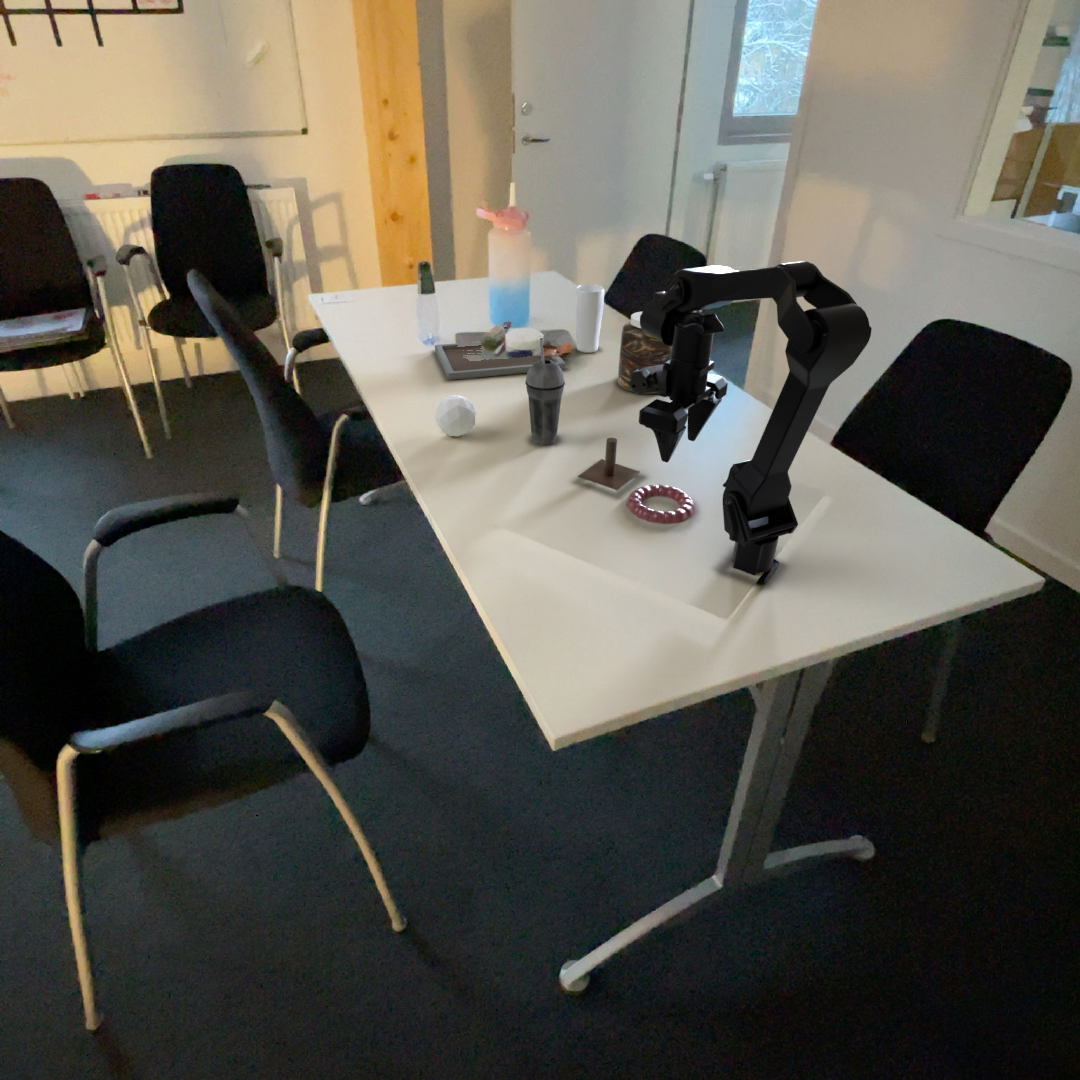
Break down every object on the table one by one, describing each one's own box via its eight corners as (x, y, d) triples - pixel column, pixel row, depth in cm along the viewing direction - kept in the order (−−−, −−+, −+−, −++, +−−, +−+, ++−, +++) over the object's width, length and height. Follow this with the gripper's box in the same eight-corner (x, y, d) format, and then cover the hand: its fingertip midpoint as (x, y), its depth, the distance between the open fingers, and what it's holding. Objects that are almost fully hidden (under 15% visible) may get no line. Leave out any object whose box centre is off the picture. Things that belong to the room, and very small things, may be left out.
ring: (674, 537, 115) (676, 524, 113) (614, 515, 120) (615, 502, 118) (704, 507, 122) (706, 495, 121) (646, 488, 127) (647, 475, 126)
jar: (666, 374, 170) (673, 308, 162) (675, 394, 161) (683, 326, 152) (614, 374, 170) (619, 308, 162) (621, 394, 160) (626, 325, 152)
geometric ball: (464, 450, 144) (468, 430, 136) (426, 432, 143) (428, 412, 136) (480, 419, 147) (485, 398, 139) (443, 402, 146) (446, 380, 139)
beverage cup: (570, 439, 142) (575, 336, 131) (545, 452, 138) (547, 346, 126) (543, 428, 146) (544, 327, 135) (517, 439, 142) (516, 336, 130)
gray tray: (434, 344, 180) (553, 335, 187) (434, 351, 181) (553, 341, 188) (447, 373, 165) (576, 362, 172) (448, 380, 166) (576, 368, 172)
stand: (617, 496, 125) (620, 455, 120) (577, 482, 128) (579, 441, 124) (640, 477, 130) (644, 437, 126) (601, 464, 134) (603, 425, 130)
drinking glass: (583, 343, 187) (586, 282, 179) (606, 349, 184) (610, 287, 176) (568, 350, 183) (570, 288, 174) (591, 356, 179) (594, 293, 171)
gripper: (670, 328, 120) (660, 418, 129) (611, 361, 107) (604, 458, 116) (735, 343, 115) (720, 435, 123) (681, 379, 102) (668, 479, 111)
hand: (678, 450), depth 118 cm, fingers open, 9 cm apart
